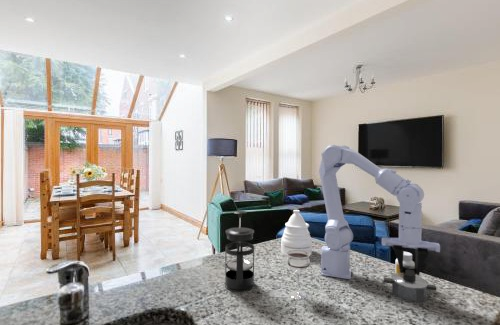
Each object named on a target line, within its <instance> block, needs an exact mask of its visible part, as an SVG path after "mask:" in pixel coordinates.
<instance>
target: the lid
mask: <svg viewBox="0 0 500 325" xmlns="http://www.w3.org/2000/svg"><path fill="white" fill-rule="evenodd" d="M391 279H392V281H393V282H394V283H396V284H398V285H400V286H403V287H406V288H410V289H425V288H427V287H428V284H429V283H428V281H427V280H426V279H425V278H423V277H421V276H419V275H416V268H414V267H411V266H403V273H395V272H394V273H393V274H392V275H391Z"/></svg>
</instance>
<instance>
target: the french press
mask: <svg viewBox="0 0 500 325" xmlns="http://www.w3.org/2000/svg"><path fill="white" fill-rule="evenodd" d="M233 214H235V215H238V218H239V221H238V222H239V223H238V224H239V225H238V227H230V228H228V229H226V230H225V234H226V239H227V240H229V241H231V242H230V243H228V244H226V245H225V246H224V247H225V255H224V256H225V257H224V258H225V260H224V261H225V263H224V264H225V272H224V273H225V275H224V276H225V277H224V278H225V280H224V287H225V288H226V290H228V291H231V292H236V293H237V292H238V293H245V292H247V291H250V290H252V289H253V288H254V287H255V245H254V244H252V243H249V241H251V240H253V238H254V234H255V230H254V229H252V228H249V227H241V222H242V221H241V218H243V217H242V215H246V214H247V211H244V210H236V211H233ZM235 247H236V250H232V249H230V248H235ZM243 247H246V248H250V249H248V250H243ZM227 254H228V255H231V256H236V259H232V260H229V261H228V262H227ZM249 255H252V261H251V260H247V259H244V256H249ZM227 269H228V270H227Z"/></svg>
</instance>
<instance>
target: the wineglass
mask: <svg viewBox="0 0 500 325" xmlns="http://www.w3.org/2000/svg"><path fill="white" fill-rule="evenodd" d="M287 255H288V256H287ZM287 255H286V263H287V264H286V265H287V267H288V268H289V269H290V270H291V271H292V272H294V273H295V274H296V290H292V291H290V292H289V297H290V298H292V299H295V300H304V299H306V298H307V293H305V292H303V290H302V291H301V290H299V288H300V287H299V286H300V274H301V273H303V272H305V271H306V270H308V269H309V267H310V265H311V259H310V256H311V255H310V254H309V253H308V252H306V251H302V250H291V251H288V252H287Z"/></svg>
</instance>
